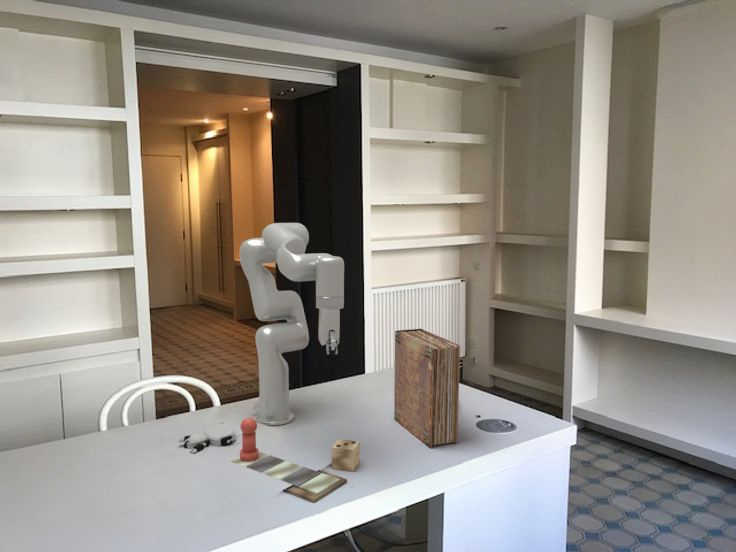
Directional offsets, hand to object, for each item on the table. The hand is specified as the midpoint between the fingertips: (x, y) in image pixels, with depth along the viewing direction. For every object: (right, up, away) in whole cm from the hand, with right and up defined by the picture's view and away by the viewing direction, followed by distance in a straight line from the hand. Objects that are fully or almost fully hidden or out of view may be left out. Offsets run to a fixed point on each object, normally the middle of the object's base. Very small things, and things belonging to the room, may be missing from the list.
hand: (329, 363), depth 162 cm
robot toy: (-36, -26, +10) cm, 45 cm away
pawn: (-22, -26, -1) cm, 34 cm away
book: (+28, -25, +23) cm, 44 cm away
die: (+5, -27, -2) cm, 28 cm away
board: (-12, -28, -8) cm, 31 cm away
